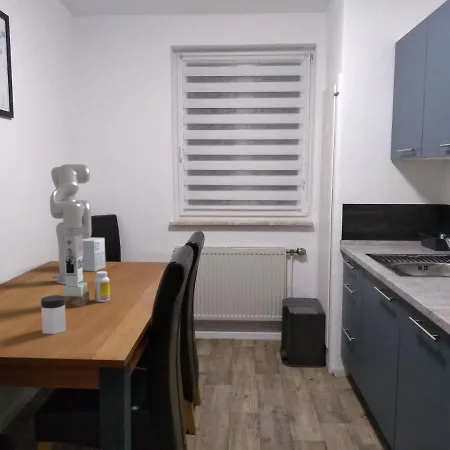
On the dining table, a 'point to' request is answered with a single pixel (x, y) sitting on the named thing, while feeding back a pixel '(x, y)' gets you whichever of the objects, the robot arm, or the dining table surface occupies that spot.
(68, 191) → the robot arm
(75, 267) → the syrup box
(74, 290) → the top block
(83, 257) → the supplement box
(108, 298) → the supplement bottle
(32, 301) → the dining table surface
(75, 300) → the bottom block
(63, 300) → the jar
